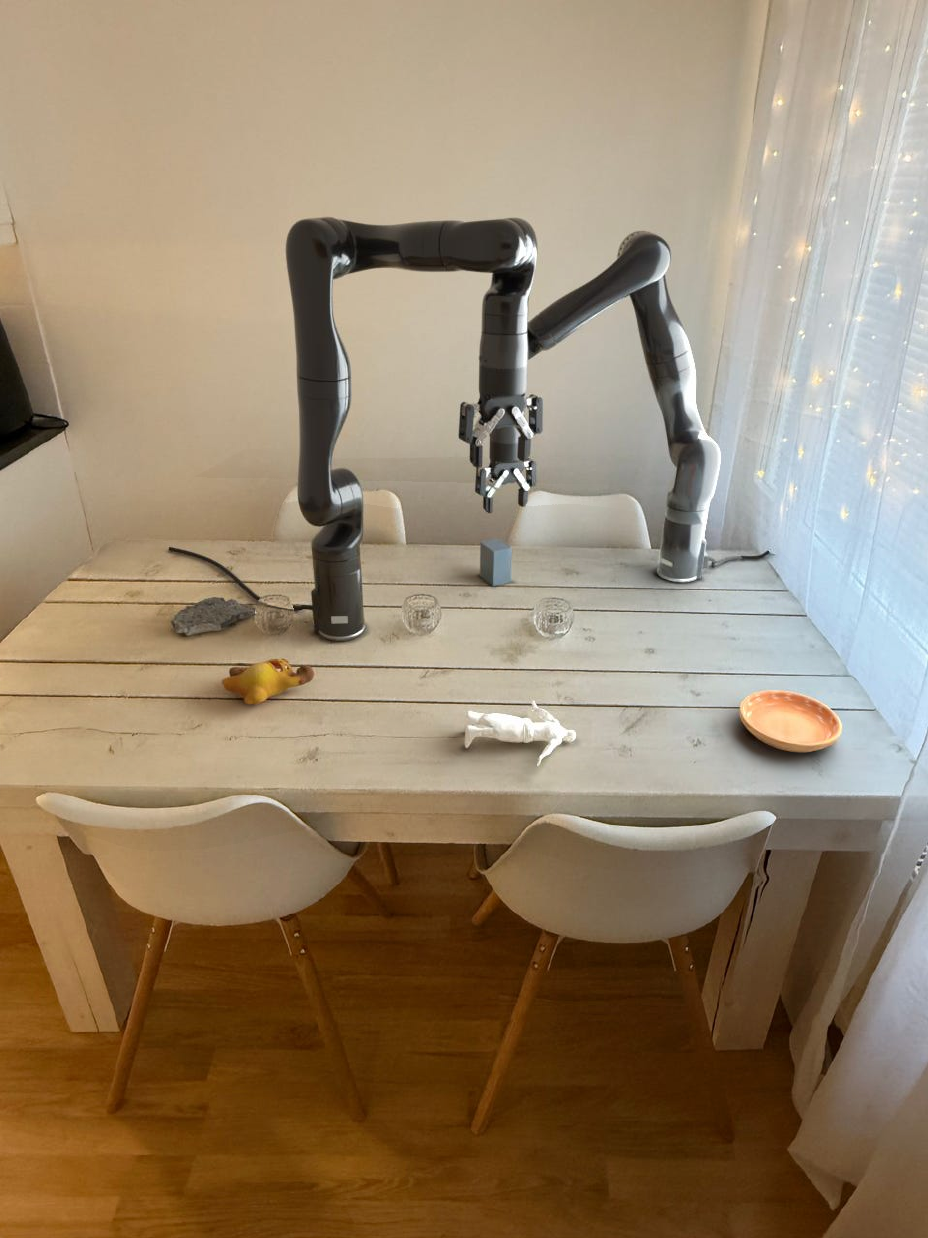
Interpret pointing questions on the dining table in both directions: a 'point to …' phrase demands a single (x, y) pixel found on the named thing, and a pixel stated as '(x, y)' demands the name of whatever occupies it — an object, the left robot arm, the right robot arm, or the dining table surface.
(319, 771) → the dining table surface
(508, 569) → the block
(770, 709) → the saucer
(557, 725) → the figurine
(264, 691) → the toy
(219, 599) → the stone slab
